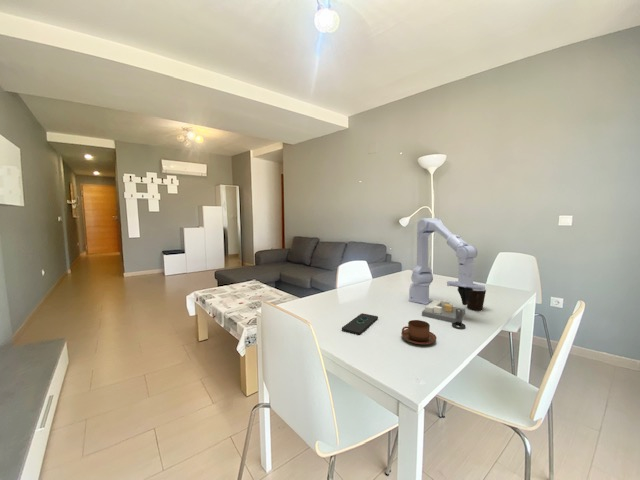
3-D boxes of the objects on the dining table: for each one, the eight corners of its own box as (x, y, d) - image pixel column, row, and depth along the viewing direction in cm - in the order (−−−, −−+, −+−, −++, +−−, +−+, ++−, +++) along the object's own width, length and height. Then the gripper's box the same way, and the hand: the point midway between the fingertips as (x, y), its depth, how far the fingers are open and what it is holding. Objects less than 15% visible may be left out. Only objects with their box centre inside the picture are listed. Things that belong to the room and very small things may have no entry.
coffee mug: (468, 304, 140) (468, 285, 139) (487, 308, 134) (488, 288, 133) (459, 310, 132) (460, 289, 131) (479, 314, 126) (480, 293, 125)
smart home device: (378, 316, 122) (360, 332, 105) (378, 319, 122) (360, 336, 105) (361, 312, 126) (340, 327, 109) (361, 316, 126) (340, 332, 109)
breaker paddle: (444, 310, 125) (444, 305, 125) (445, 309, 127) (445, 304, 127) (451, 312, 123) (451, 306, 123) (452, 311, 125) (452, 305, 125)
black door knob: (450, 327, 112) (450, 310, 111) (453, 323, 116) (454, 307, 115) (463, 330, 109) (464, 312, 108) (466, 326, 113) (467, 309, 112)
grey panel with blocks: (421, 315, 125) (422, 305, 125) (433, 306, 137) (434, 297, 137) (455, 323, 116) (455, 312, 115) (464, 313, 128) (465, 303, 128)
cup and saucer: (417, 350, 93) (417, 332, 93) (394, 336, 104) (394, 320, 104) (443, 343, 98) (444, 327, 97) (419, 331, 109) (419, 315, 108)
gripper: (445, 272, 121) (444, 303, 122) (483, 277, 112) (481, 310, 113) (450, 270, 126) (449, 299, 127) (486, 274, 117) (485, 306, 118)
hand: (464, 304), depth 120 cm, fingers closed
